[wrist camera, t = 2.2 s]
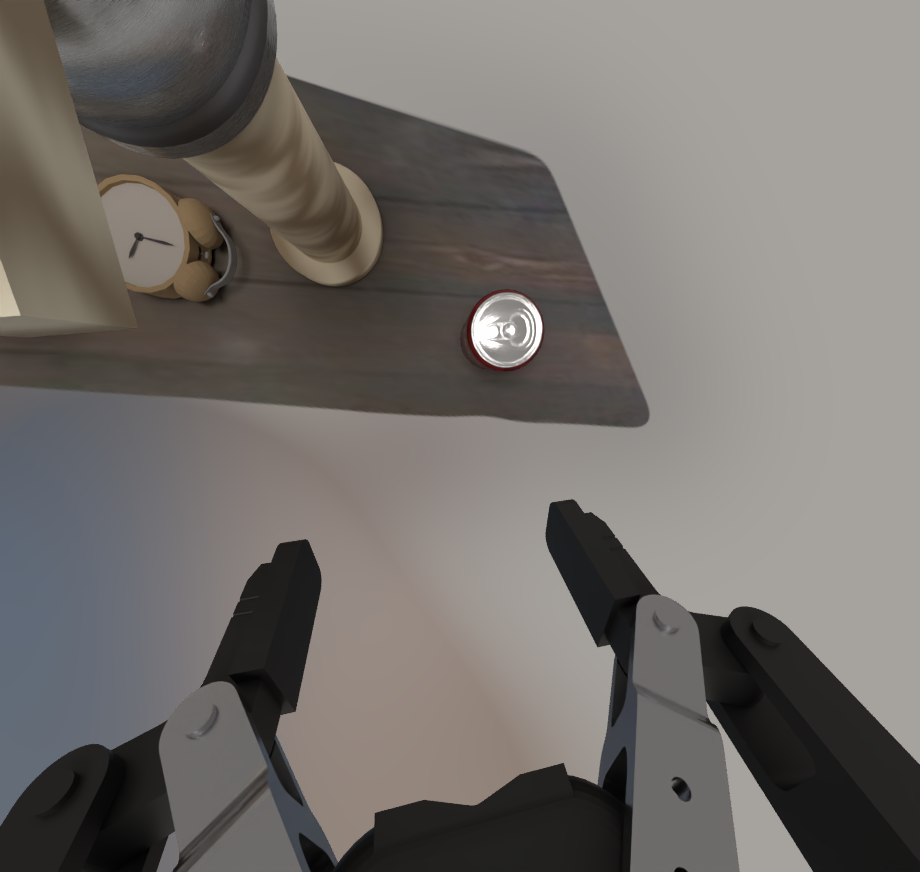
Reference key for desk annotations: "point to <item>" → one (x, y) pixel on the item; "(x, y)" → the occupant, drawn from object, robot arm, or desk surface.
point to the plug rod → (49, 196)
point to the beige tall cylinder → (219, 118)
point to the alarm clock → (164, 239)
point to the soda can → (503, 331)
